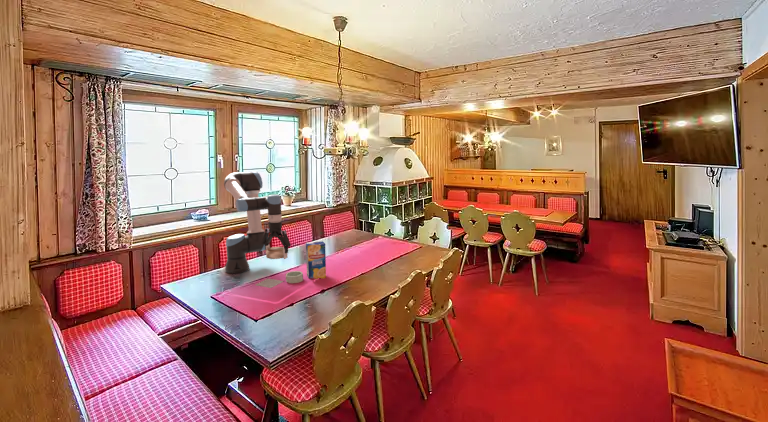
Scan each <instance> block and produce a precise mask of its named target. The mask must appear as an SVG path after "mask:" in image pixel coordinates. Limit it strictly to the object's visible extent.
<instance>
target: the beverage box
mask: <svg viewBox="0 0 768 422" xmlns="http://www.w3.org/2000/svg"><path fill="white" fill-rule="evenodd" d="M326 254H327V253H326V243H325V242H324V241H323V240H322V241H312V242H305V256H306V257H305V260H306V261H305V263H306V276H307V278H308V279H314V280H319V279H318V278H321V279H327V259H326Z"/></svg>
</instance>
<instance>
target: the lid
mask: <svg viewBox="0 0 768 422" xmlns="http://www.w3.org/2000/svg"><path fill="white" fill-rule="evenodd" d="M283 248H284V246H272V247H270V248H268V249H266V250H265V255H266V256H265V257H266V259H271V260H279V259H284V256H283Z"/></svg>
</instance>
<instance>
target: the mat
mask: <svg viewBox="0 0 768 422" xmlns="http://www.w3.org/2000/svg"><path fill="white" fill-rule="evenodd" d="M283 282H284V280H279V279H275V278H274V279H273V278H266V279H263V280H262V281H260V282H258V283H256V284H255V286H257V287H264V288H269V289H270V288H271V289H272V288H274V287H277V285H280V284H282V283H283Z"/></svg>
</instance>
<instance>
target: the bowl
mask: <svg viewBox="0 0 768 422" xmlns="http://www.w3.org/2000/svg"><path fill="white" fill-rule="evenodd" d="M285 281H286V283H288V284H298V283H301V282H303V281H304V274H303V271H301V270H299V271H298V270H292V271H289V272H287V273H285Z"/></svg>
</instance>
